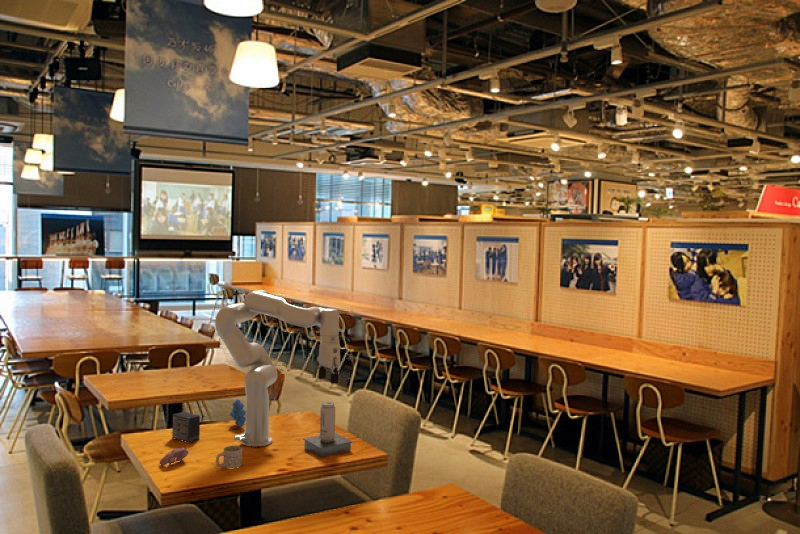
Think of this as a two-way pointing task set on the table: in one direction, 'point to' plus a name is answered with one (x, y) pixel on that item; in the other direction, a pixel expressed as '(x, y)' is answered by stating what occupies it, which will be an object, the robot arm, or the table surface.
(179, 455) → the purple oval lump
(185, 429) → the small box
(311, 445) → the stand
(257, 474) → the table surface
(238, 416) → the grapes
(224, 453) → the mug
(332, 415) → the energy drink can
